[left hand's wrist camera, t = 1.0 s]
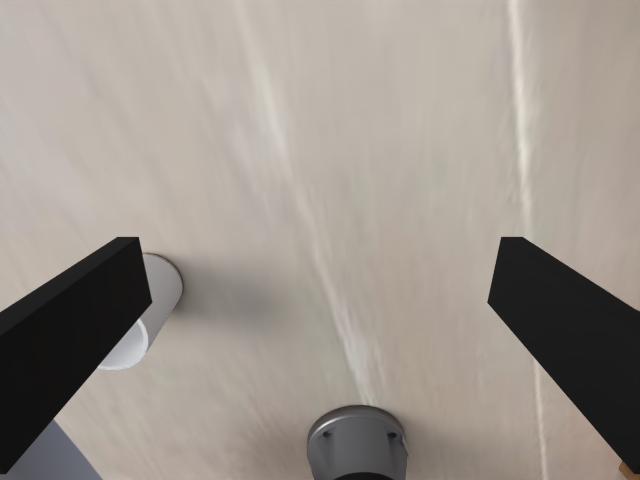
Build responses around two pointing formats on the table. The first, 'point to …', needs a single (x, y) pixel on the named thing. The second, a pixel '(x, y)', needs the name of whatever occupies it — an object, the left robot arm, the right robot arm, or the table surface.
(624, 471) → the brown wooden bar
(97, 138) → the table surface
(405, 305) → the table surface
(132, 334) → the mug
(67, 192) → the table surface
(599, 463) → the table surface
